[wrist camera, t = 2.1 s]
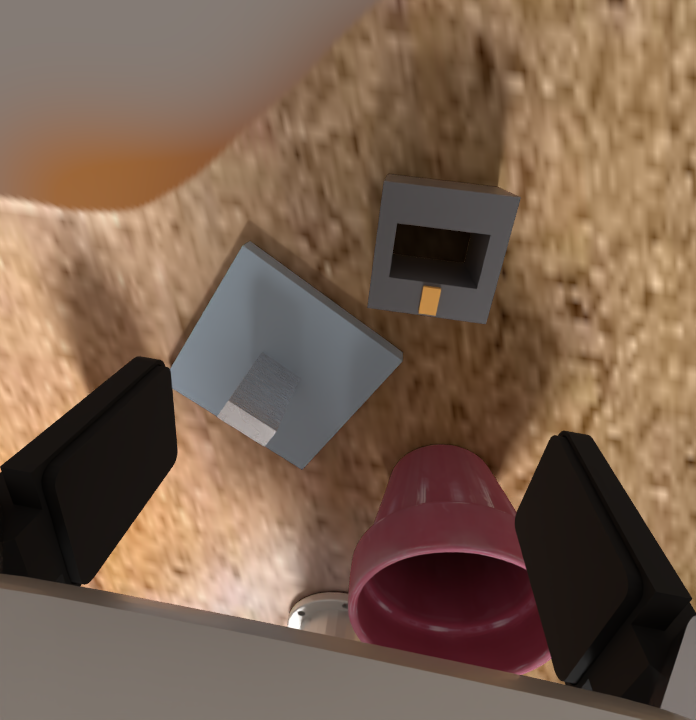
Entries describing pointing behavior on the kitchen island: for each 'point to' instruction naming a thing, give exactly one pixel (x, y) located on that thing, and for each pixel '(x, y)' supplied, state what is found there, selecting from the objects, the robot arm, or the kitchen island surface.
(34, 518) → the robot arm
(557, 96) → the kitchen island surface
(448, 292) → the grey hollow box
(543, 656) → the plant pot
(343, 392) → the plate
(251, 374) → the grey wooden block
